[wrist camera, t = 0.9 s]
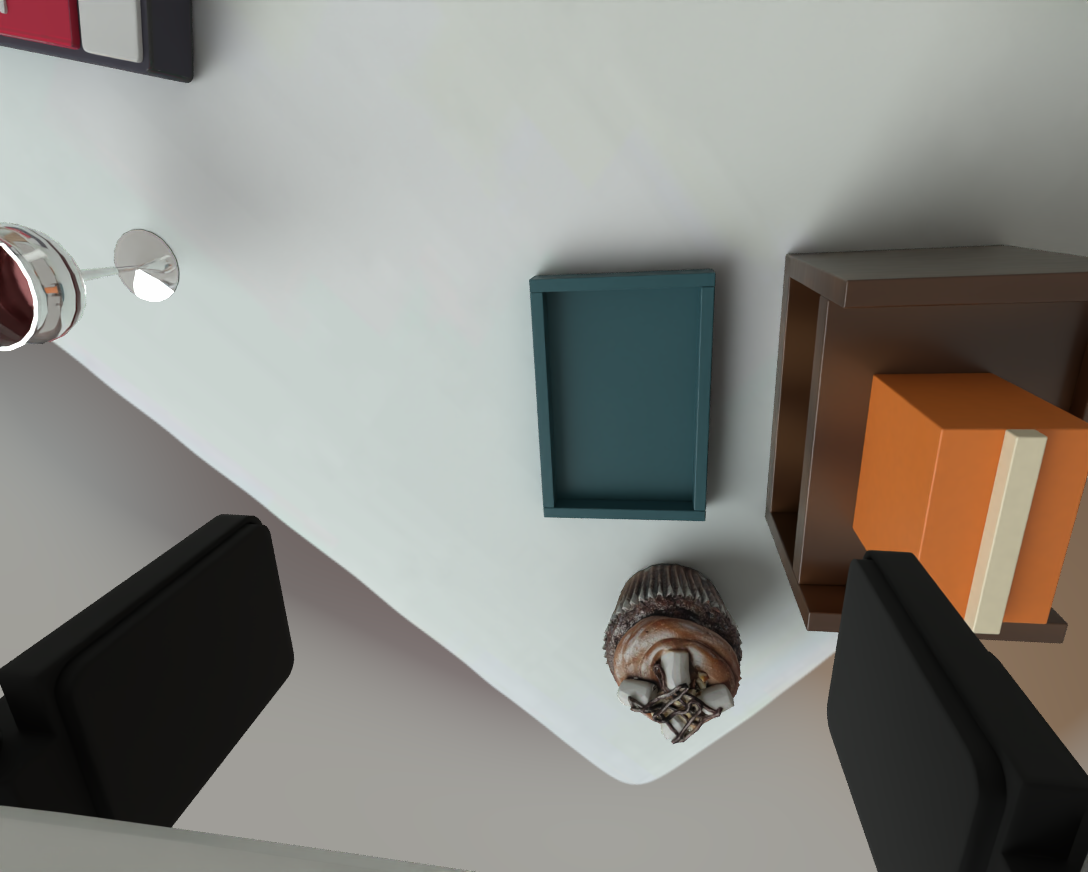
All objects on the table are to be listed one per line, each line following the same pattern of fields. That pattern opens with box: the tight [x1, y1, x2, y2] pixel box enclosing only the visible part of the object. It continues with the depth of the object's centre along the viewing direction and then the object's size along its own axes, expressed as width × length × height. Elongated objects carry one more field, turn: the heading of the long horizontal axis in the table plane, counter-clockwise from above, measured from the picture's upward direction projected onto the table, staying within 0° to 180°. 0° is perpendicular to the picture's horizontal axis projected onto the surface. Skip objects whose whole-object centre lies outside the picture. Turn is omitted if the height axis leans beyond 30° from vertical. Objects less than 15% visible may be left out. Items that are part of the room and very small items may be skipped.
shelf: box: [765, 245, 1088, 643], centre depth 34 cm, size 18×12×12 cm, turn 3°
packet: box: [853, 373, 1088, 634], centre depth 27 cm, size 8×5×8 cm, turn 3°
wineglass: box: [0, 222, 179, 351], centre depth 39 cm, size 7×7×12 cm
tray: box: [529, 269, 715, 521], centre depth 42 cm, size 17×11×2 cm
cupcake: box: [603, 564, 742, 744], centre depth 44 cm, size 10×10×10 cm
